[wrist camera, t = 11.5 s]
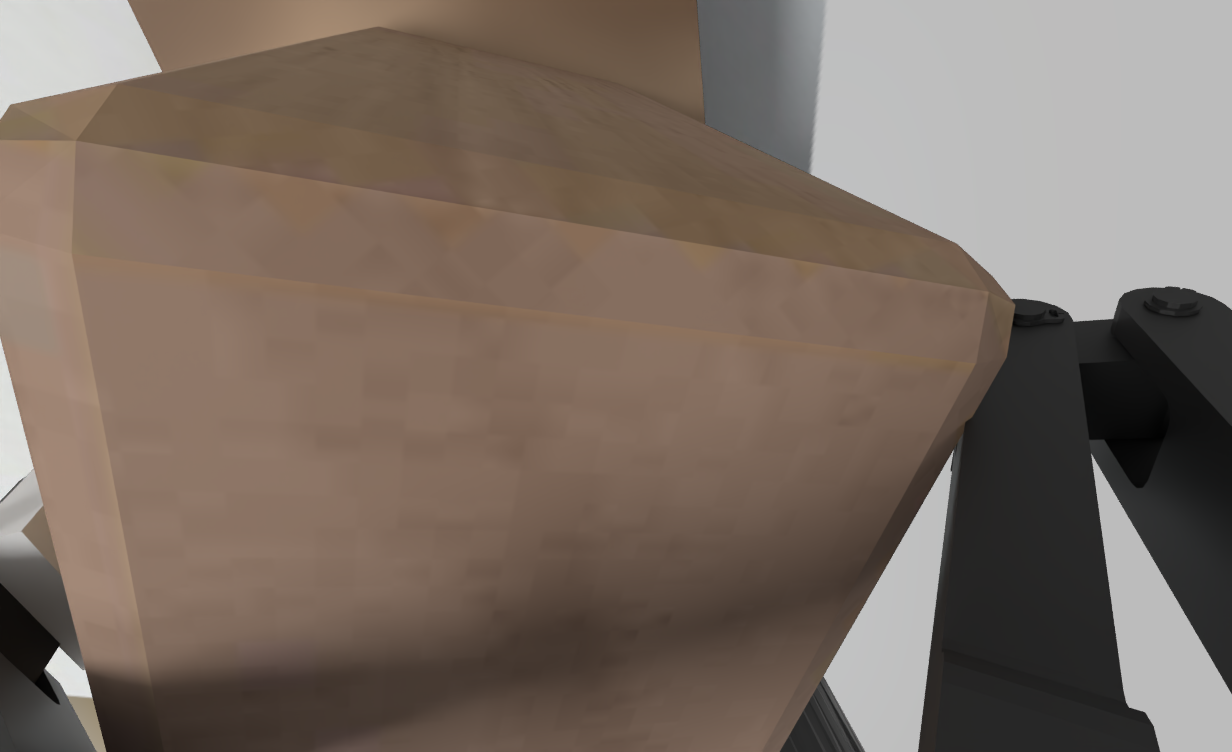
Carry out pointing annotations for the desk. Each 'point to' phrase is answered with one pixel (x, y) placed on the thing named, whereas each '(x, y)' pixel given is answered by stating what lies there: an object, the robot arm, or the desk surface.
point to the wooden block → (462, 403)
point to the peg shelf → (457, 34)
